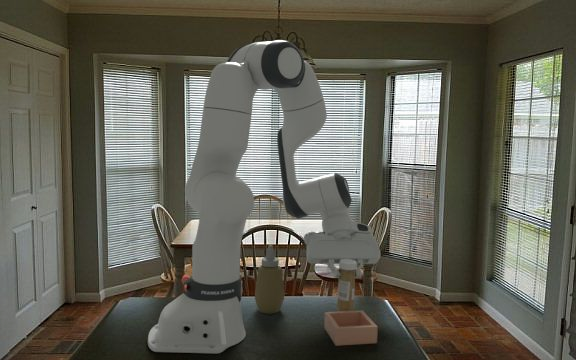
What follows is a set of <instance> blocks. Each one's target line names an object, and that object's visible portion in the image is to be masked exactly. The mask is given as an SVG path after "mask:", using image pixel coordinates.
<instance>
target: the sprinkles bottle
mask: <svg viewBox="0 0 576 360" xmlns="http://www.w3.org/2000/svg"><path fill="white" fill-rule="evenodd" d="M338 267H339V268H338V269H340V273H341V276H340V278H338V284H337V285H338V286H337V304H336V309H337V310H336V311H337V312H340V311H355V310H354V302H355V300H354V299H355V290H356V288H355V287H356V278H355V272H356V269H358V267H357V262H356V261H355V260H352V259H341V260H340V262H339V264H338Z"/></svg>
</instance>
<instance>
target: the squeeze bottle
mask: <svg viewBox="0 0 576 360" xmlns="http://www.w3.org/2000/svg"><path fill="white" fill-rule="evenodd" d="M279 262H280V259H279V258H278V257H276V256H275V250H274V245H273V244H268V247H267V249H266V254H265V256H264V257H262V258H261V265H260V266H259V267H258V268H257V274H256V281H255V282H256V283H255V293H254V300H255V303H256V306H257V310H258V312H259V313H263V314H271V315H272V314H277V313H278V312H280V310H281V308H282V305H283V303H284V300H285V292H284V279H283V277H284V276H283V268H282V267H281V265H279Z"/></svg>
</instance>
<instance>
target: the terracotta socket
mask: <svg viewBox="0 0 576 360" xmlns="http://www.w3.org/2000/svg"><path fill="white" fill-rule="evenodd" d="M323 325H324V327H323V328H324V330H325V331H326V333H327V334H328V336H329V337H330V340H332V342H333V344H334V346H338V347H339V346H351V345H352V346H353V345H367V344H378V325H377V324H376V323H375V322H374V321H373V320H372V319H371V317H370V316H368V314H366V312H365V311H364V310H362V309H361V310H353V311H324V323H323Z"/></svg>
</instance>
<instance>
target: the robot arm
mask: <svg viewBox="0 0 576 360" xmlns="http://www.w3.org/2000/svg"><path fill="white" fill-rule="evenodd" d="M273 89H274V91H275V92H276V94H277V95H278V99H279V103H280V107H281V109H282V110H281V111H282V113H283V123H282V127H280V128H279V130H278V131H277V137H276V138H277V144H276V145H277V153H278V163H279V169H280V176H281V178H280V179H281V182H282V183H281V184H282V185H281V186H282V203H283V208H284V210H285V212H286V214H287V215H289V216H291V217H293V218H295V219H303V218H305V217H308V216H310V215H313V214H317V213H319V214H320V217H321V220H322V221H321V229H322V231H308V232H307V233H305V234H303V240H304V244H305V245H306V248H305V249H306V250H305V251H306V261H307V262H308V263H309V264H312V265H327V268H328V269H329V270H330V272H332V275H333V279H339V278H340V276H341V273H340V269H339V268H337V267H336V266H335V265H339V262H340V260H341V259H352V260H355V261H356V262H357V268H356V272H355V279H359V278H361V277H362V274H363V273H362V267H363V265H374V264H377V263H378V262H379V260H380V258H381V257H382V256H381V255H382V254H381V253H382V252H381V249H380V246H379V243H378V242H377V239H376V237H375V235H373V234H372V231H373V229H372V227H371V226H370V225H368V224H365V223H361V222H358V221H355V220H354V219H353V218H352V216H351V214H350V211H351V208H350V206H351V204H352V202H353V201H352V197H351V193H350V187H349V183H348V180H347V179H346V177H344V176H342V175H341V174H339V173H337V172H331V173H327V174H324V175H319V176H317V177H313V178H310V179H305V180H298V179H297V175H296V167H295V157H294V156H295V153H296V151H297V150H298V149H299V148H300V147H301V146H303V145H304V144H305V143H306V142H308V141H309V140H312V138H314V137H315V136H316V135H317V134H318V133H319V132H320V131H321V130H322V129H323V127H324V126H325V123H326V120H327V116H328V114H327V107H326V103H325V102H326V101H325V99H324V95H323V91H322V88H321V85H320V83H319V80H318V78H317V76H316V73H315V71H314V69H313V67H312V65H311V64H310V63H309V62H308V61H306V60H305V59H304V57H303V54H302V52H301V51H300V49H299V48H298V47H297V46H296V45H295V44H294V43H293V42H290V41H288V40H282V39H277V40H276V39H275V40H272V41H256V42H253V43H250V44H247V45H242V46H239V47H237V48H236V49H234V51H232V52H231V54H230V55H229V57H228V58H227V61H226V62H222V63H219V64H217V65H216V66H215V67H214V68H213V69H212V71H211V74H210V77H209V80H208V83H207V87H206V91H205V94H204V95H205V96H204V101H203V109H202V115H201V116H202V117H201V123H200V132H199V133H200V134H199V138H198V144H197V149H196V153H195V156H194V159H193V163H192V166H191V170H190V172H189V178H188V179H187V181H186V183H185V186H184V194H185V199H186V201H187V203H188V204H189V206H190V207H191V208H192V210H194V211H195V212H196V213H198V216H199V217H198V226H197V230H196V231H197V232H196V235H195V239H194V241H193V243H192V247H191V248H192V249H191V251H192V257H191V258H192V261H191V262H192V263H191V269H192V271H191V276H190V275H189V274H184V275H183V276H182V277H181V283H182V294H180V295H178V296H177V297H176V298H175V299H174V300H172V301H171V302H169V303H168V304H166V305H165V307H164V308H163V309H162V311H161V312H160V316H159V318H158V323H157V324H155V325H154V326H152V327H151V329H150V330H149V332H148V335H147V345H148V348H149V349H150V350H151V351H152V352H155V353H186V354H188V353H190V354H221V353H222V352H224V351H226V349H229V348H230V347H233V346H235V345H237V344H239V343H240V342H242V341H243V340H244V339H245V338H246V334H247V332H246V329H245V325H244V322H243V321H244V320H243V316H242V307H241V301H242V297H243V296H242V295H243V280H242V276H241V274H240V273H241V246H242V239H243V237H244V235H243V234H244V230H245V227H246V223H247V219H248V218H249V217H250V215H251V214H252V211H253V209H254V207H255V206H254V205H255V197H254V194H253V191H252V190H251V188H250V187H249V185H248V184H247V183H246V182H245V181H244V180H243V179H241V178H240V177H238V176H236V175H237V172H238V168H239V166H240V164H241V163H240V162H241V160H242V158H243V156H244V154H245V153H246V152H247V150H248V146H249V140H250V131H251V130H250V129H251V123H252V114H253V103H254V97H255V95H256V94H257V93H256V92H258V90H262V91H266V90H273Z"/></svg>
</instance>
